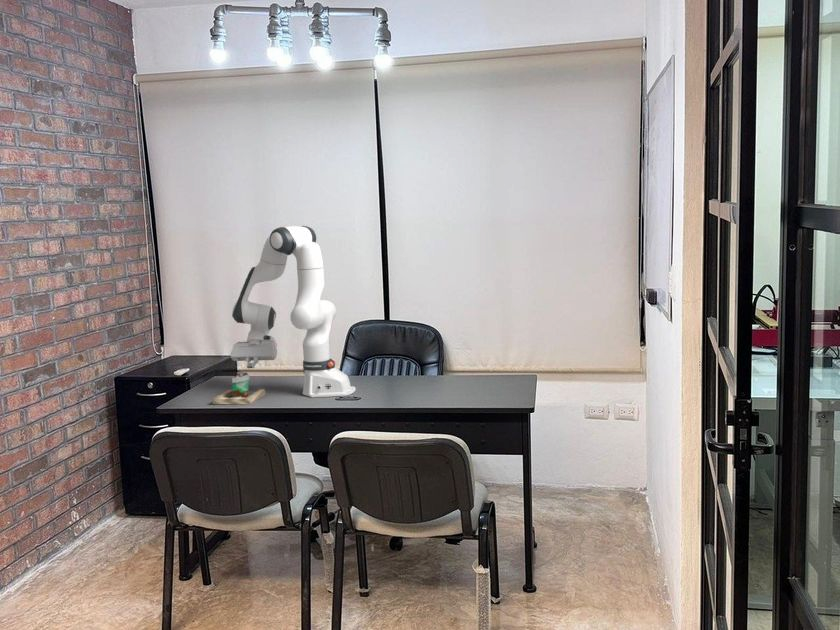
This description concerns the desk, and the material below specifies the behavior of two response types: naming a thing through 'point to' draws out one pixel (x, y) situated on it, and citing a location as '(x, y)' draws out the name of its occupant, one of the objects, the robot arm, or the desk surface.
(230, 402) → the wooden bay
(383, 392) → the desk surface
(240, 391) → the food container
